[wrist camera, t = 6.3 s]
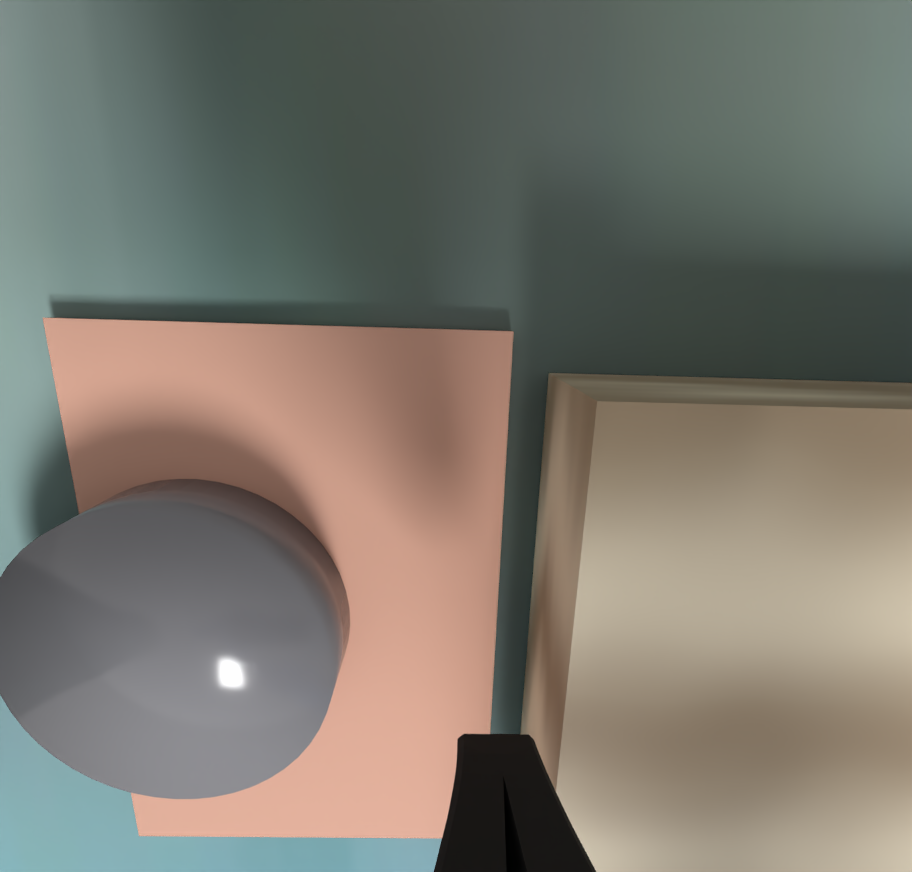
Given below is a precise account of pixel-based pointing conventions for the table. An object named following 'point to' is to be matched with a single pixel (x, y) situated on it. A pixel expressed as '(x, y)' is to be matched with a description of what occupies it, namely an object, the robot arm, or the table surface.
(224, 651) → the glossy rounded grey object
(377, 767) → the mat
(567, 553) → the board
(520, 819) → the robot arm
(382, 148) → the table surface
